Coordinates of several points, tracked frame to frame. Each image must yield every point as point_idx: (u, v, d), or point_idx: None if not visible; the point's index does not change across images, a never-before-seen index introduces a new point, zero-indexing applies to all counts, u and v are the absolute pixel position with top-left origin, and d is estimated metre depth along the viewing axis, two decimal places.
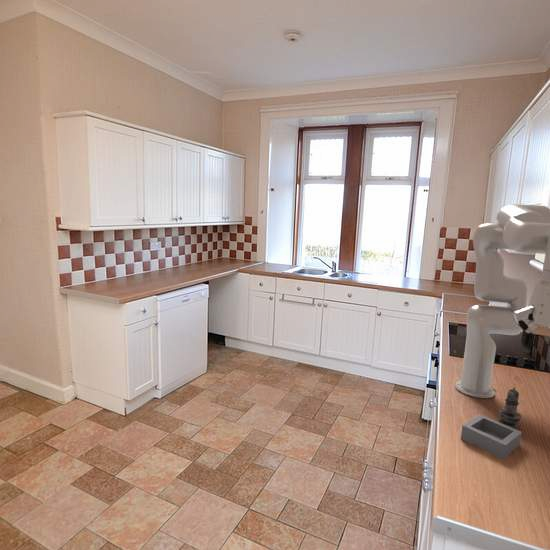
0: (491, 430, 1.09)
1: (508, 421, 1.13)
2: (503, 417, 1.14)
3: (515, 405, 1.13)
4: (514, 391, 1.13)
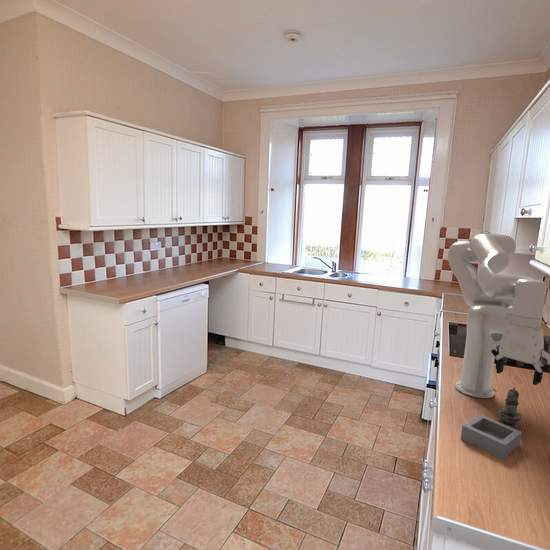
0: (491, 430, 1.09)
1: (508, 421, 1.13)
2: (503, 417, 1.14)
3: (515, 405, 1.13)
4: (514, 391, 1.13)
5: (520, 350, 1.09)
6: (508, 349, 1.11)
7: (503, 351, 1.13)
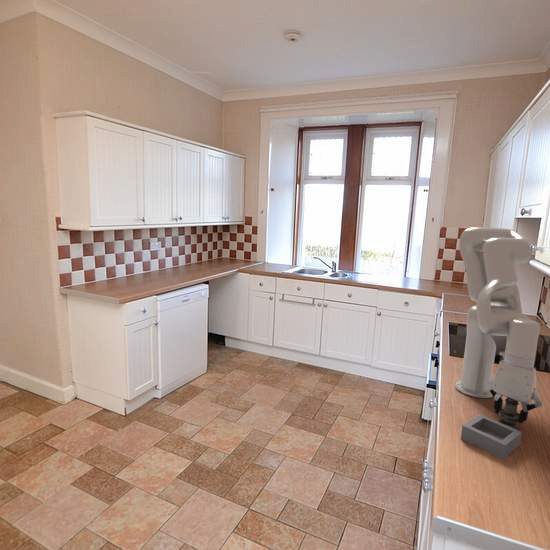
0: (491, 430, 1.09)
1: (508, 421, 1.13)
2: (503, 417, 1.14)
3: (515, 405, 1.13)
4: None
5: (513, 388, 1.11)
6: (501, 386, 1.14)
7: (496, 388, 1.15)
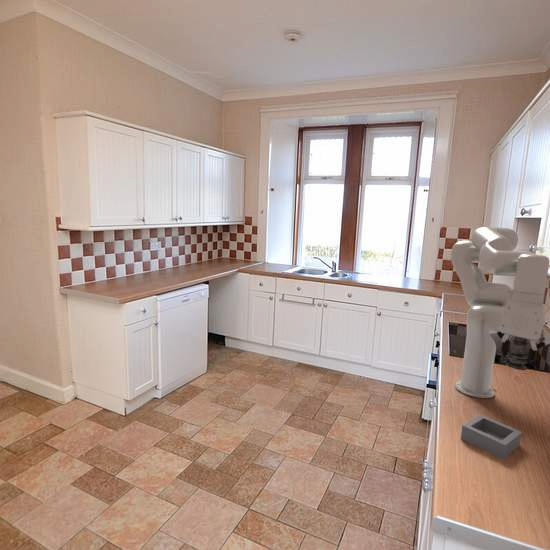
0: (491, 430, 1.09)
1: (517, 362, 1.09)
2: (511, 358, 1.10)
3: (524, 345, 1.08)
4: None
5: (522, 327, 1.07)
6: (509, 326, 1.09)
7: (504, 328, 1.10)
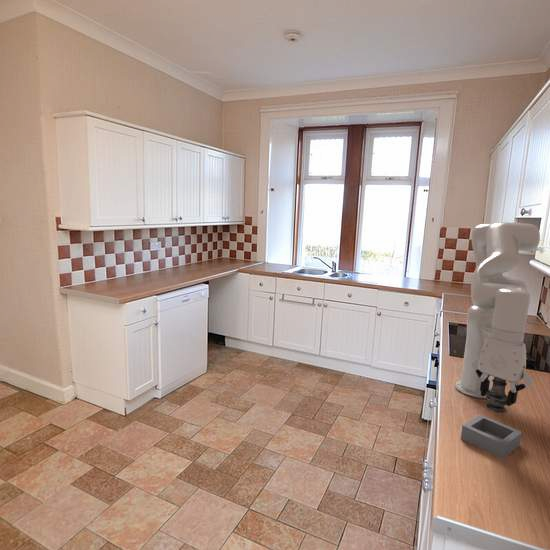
0: (491, 430, 1.09)
1: (495, 404, 1.01)
2: (490, 399, 1.02)
3: (503, 385, 1.01)
4: None
5: (500, 367, 0.99)
6: (488, 365, 1.02)
7: (482, 367, 1.03)
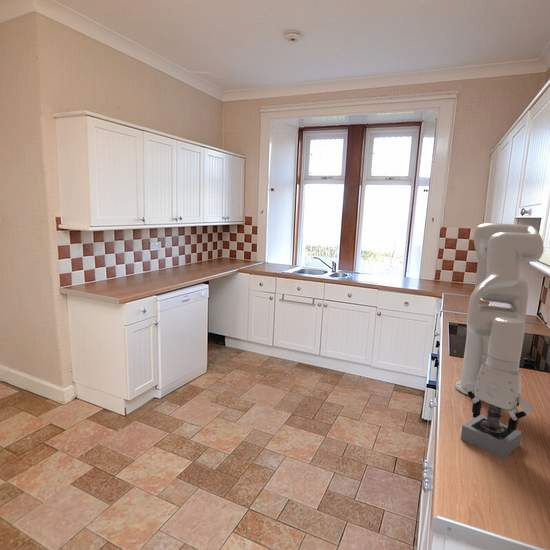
0: None
1: None
2: (484, 430, 1.04)
3: (497, 417, 1.03)
4: None
5: (496, 395, 1.01)
6: (483, 392, 1.03)
7: (478, 394, 1.04)
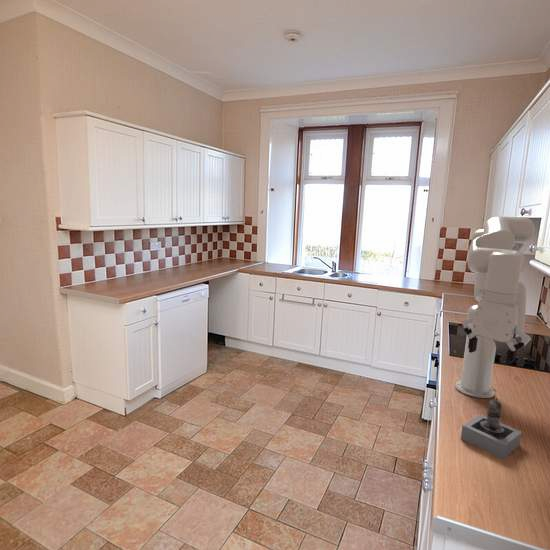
0: None
1: None
2: (484, 430, 1.04)
3: (497, 417, 1.03)
4: (496, 402, 1.03)
5: (493, 328, 1.02)
6: (481, 327, 1.05)
7: (476, 329, 1.06)
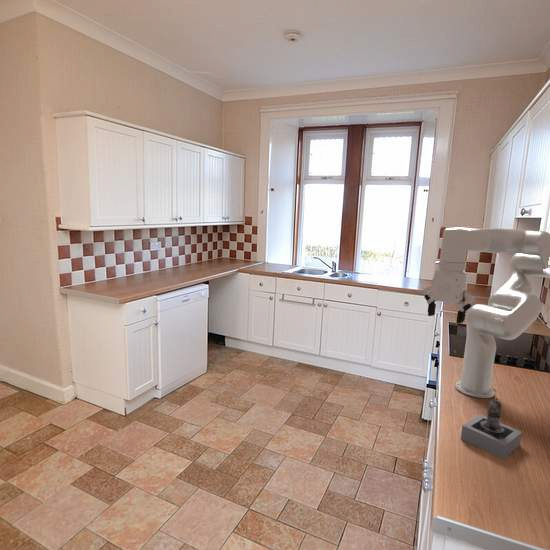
0: None
1: None
2: (484, 430, 1.04)
3: (497, 417, 1.03)
4: (496, 402, 1.03)
5: (446, 292, 1.20)
6: (436, 292, 1.23)
7: (432, 295, 1.24)
